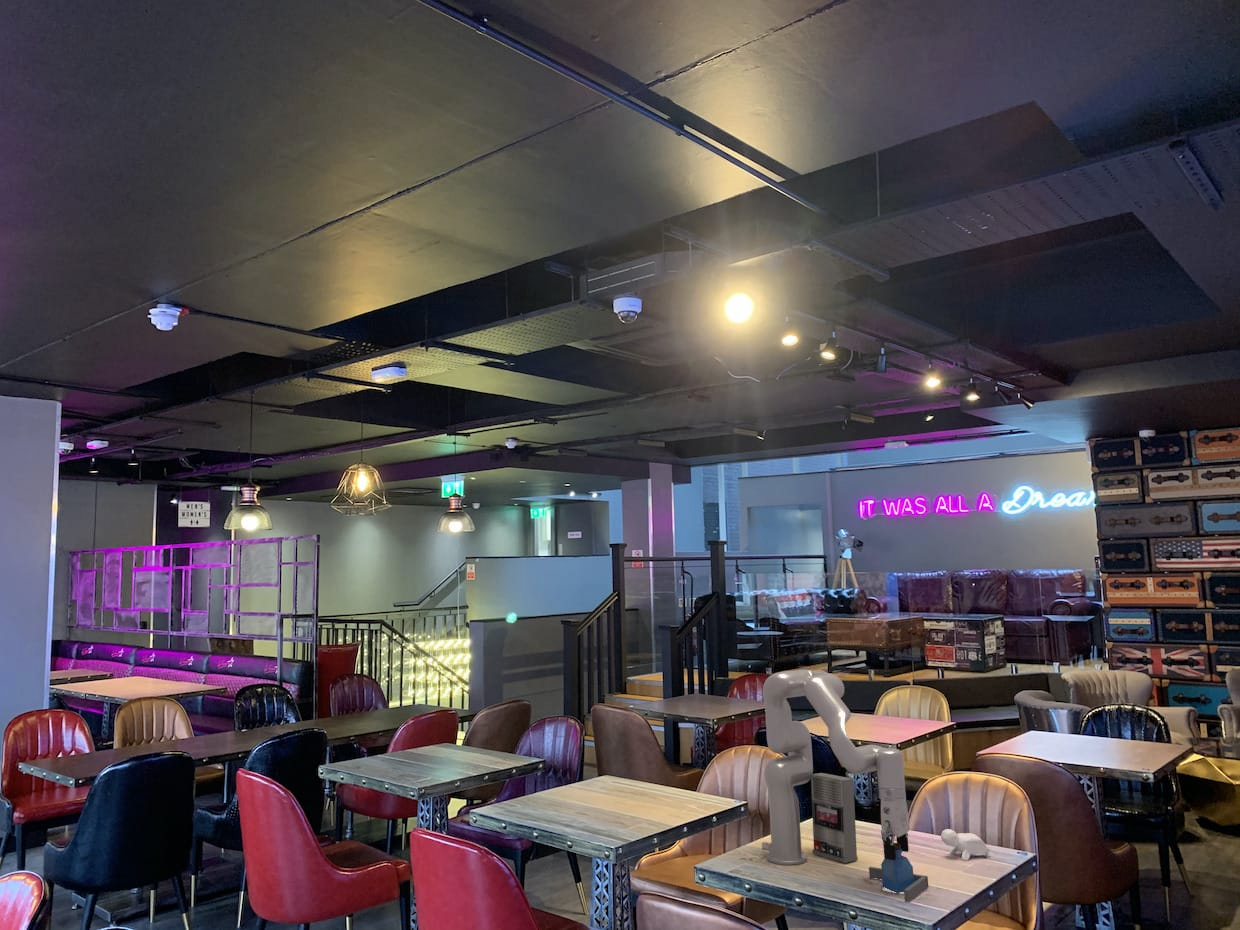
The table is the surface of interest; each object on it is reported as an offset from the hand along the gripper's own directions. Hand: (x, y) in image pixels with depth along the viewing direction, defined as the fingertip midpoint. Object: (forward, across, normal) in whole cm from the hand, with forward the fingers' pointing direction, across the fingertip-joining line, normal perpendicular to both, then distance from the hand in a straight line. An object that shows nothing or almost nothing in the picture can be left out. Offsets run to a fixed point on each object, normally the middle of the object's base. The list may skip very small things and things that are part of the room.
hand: (896, 855), depth 252 cm
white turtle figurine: (+10, +42, -5) cm, 43 cm away
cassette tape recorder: (+9, +18, +29) cm, 35 cm away
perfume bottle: (+9, 0, 0) cm, 9 cm away
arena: (+9, -1, +2) cm, 10 cm away
